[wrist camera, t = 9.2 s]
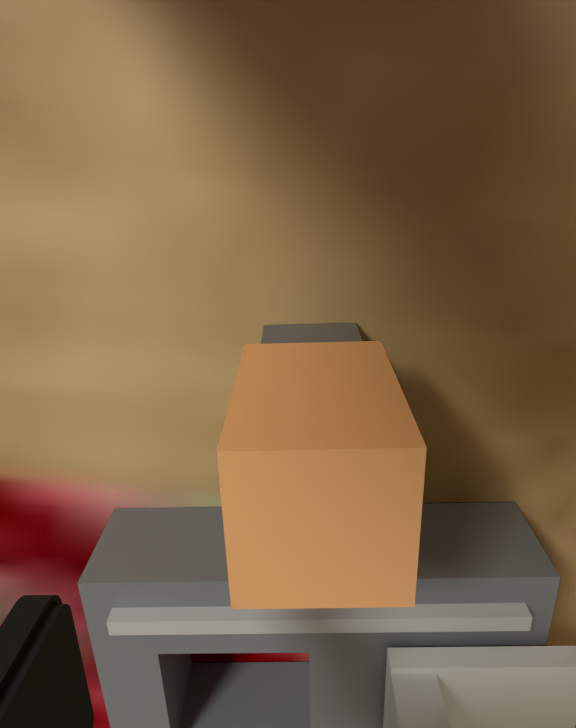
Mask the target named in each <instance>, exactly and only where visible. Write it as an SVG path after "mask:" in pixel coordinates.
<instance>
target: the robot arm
mask: <svg viewBox="0 0 576 728" xmlns="http://www.w3.org/2000/svg"><path fill="white" fill-rule="evenodd" d="M93 723H94V714H93V709H92V704H91V699H90V695H89V690H88V686H87V681H86V676H85V672H84V667H83V662H82V658H81V653H80V649H79V644H78V639H77V635H76V630H75V626H74V621H73V616H72V612H71V608H70V606H69V605H68V604H62V602H61V599H60V597H59V596H58V595H24V596H22V597H21V598H19V600H18V601H17V602H16V603H15V605H14V606H13V608H12V609H11V611H10V613H9V614H8V616H7V617H6V619H5V620H4V622H3V623H2V625H1V626H0V728H93Z"/></svg>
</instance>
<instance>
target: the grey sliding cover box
mask: <svg viewBox="0 0 576 728" xmlns="http://www.w3.org/2000/svg"><path fill="white" fill-rule="evenodd" d="M560 578H561V577H560V575H559V573H558V572H557V570H556V568H555V567H554V565H553V564H552V562H551V560H550V559H549V557H548V555H547V554H546V552H545V551H544V549H543V547H542V546H541V544H540V542H539V541H538V539H537V537H536V536H535V534H534V533H533V531H532V529H531V528H530V526H529V524H528V523H527V521H526V519H525V518H524V516H523V515H522V513H521V511H520V510H519V508H518V506H517V505H516V503H515V502H490V503H429V504H422V516H421V530H420V543H419V556H418V569H417V582H416V595H415V607H393V608H307V609H231V602H230V591H229V580H228V569H227V558H226V548H225V537H224V526H223V515H222V507H188V508H127V509H114V511H113V513H112V515H111V517H110V519H109V521H108V523H107V525H106V527H105V529H104V531H103V533H102V535H101V537H100V539H99V541H98V543H97V545H96V547H95V549H94V551H93V553H92V555H91V557H90V559H89V561H88V563H87V565H86V567H85V569H84V571H83V573H82V575H81V577H80V579H79V581H78V587H79V592H80V596H81V601H82V605H83V609H84V614H85V618H86V622H87V627H88V631H89V636H90V640H91V644H92V649H93V653H94V657H95V662H96V666H97V671H98V675H99V679H100V684H101V688H102V692H103V697H104V701H105V706H106V710H107V714H108V719H109V723H110V727H111V728H383V718H384V699H385V680H386V661H387V648H402V647H500V646H547V641H548V636H549V631H550V626H551V621H552V617H553V612H554V607H555V602H556V597H557V592H558V587H559V583H560ZM302 652H309V662H235V663H192V657H191V654H203V653H302Z"/></svg>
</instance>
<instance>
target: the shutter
mask: <svg viewBox="0 0 576 728" xmlns="http://www.w3.org/2000/svg"><path fill="white" fill-rule="evenodd" d="M575 725H576V646H500V647H402V648H387V661H386V680H385V699H384V718H383V728H575Z"/></svg>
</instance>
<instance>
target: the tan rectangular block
mask: <svg viewBox="0 0 576 728" xmlns="http://www.w3.org/2000/svg"><path fill="white" fill-rule="evenodd" d="M426 451H427V447H426V445H425V442H424V440H423V438H422V435H421V433H420V431H419V428H418V426H417V424H416V421H415V419H414V417H413V414H412V412H411V410H410V408H409V405H408V403H407V401H406V398H405V396H404V394H403V391H402V389H401V387H400V384H399V382H398V380H397V377H396V375H395V373H394V370H393V368H392V366H391V363H390V361H389V359H388V356H387V354H386V352H385V349H384V347H383V345H382V342H381V341H362V338H361V335H360V332H359V329H358V326H357V323H331V324H290V325H264V329H263V335H262V341H261V344H244V348H243V352H242V355H241V359H240V363H239V367H238V371H237V375H236V379H235V383H234V386H233V390H232V394H231V398H230V402H229V406H228V410H227V413H226V417H225V421H224V425H223V429H222V433H221V437H220V441H219V444H218V448H217V461H218V472H219V483H220V493H221V504H222V515H223V526H224V537H225V548H226V558H227V569H228V580H229V591H230V602H231V609H307V608H393V607H415V595H416V582H417V569H418V556H419V543H420V530H421V516H422V503H423V490H424V477H425V464H426Z"/></svg>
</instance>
